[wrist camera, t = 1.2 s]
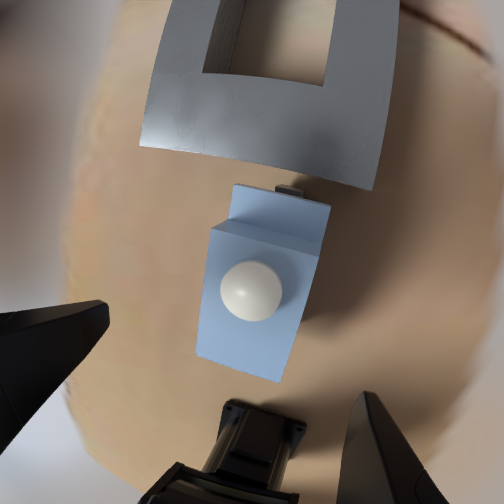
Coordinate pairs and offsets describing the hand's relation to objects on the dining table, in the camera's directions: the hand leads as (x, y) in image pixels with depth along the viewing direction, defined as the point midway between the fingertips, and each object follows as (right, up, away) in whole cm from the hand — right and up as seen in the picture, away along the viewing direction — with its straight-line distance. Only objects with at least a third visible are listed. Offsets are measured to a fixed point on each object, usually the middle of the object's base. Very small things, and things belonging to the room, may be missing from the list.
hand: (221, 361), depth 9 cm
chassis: (+3, +15, +4) cm, 16 cm away
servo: (+2, +3, +8) cm, 8 cm away
